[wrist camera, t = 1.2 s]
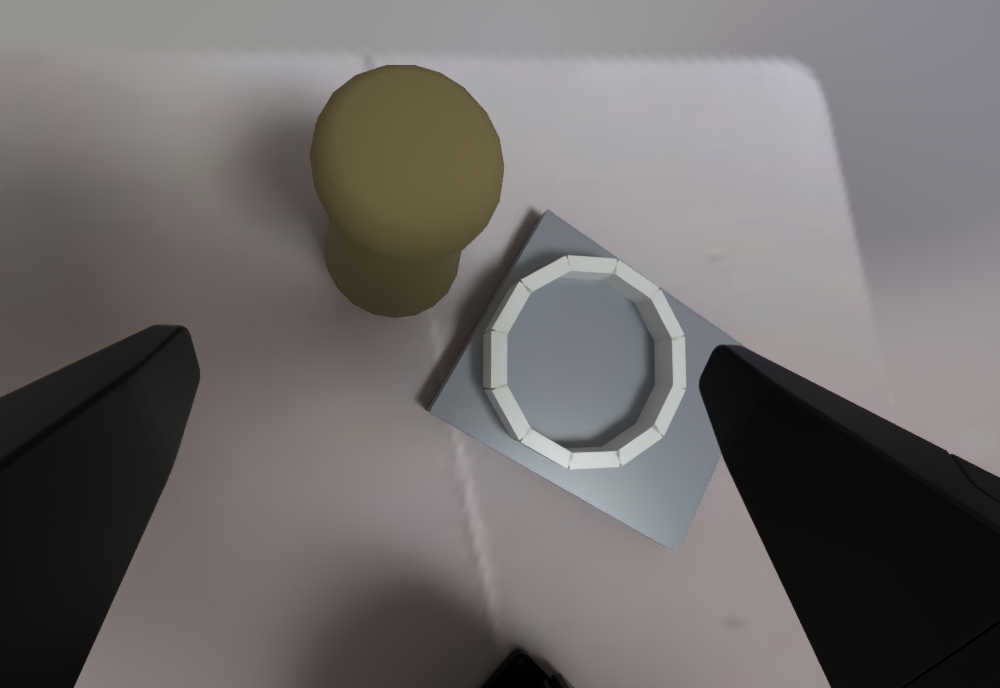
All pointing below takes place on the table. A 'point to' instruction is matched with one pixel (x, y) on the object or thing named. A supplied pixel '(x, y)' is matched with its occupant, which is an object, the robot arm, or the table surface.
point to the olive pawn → (403, 185)
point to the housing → (591, 382)
